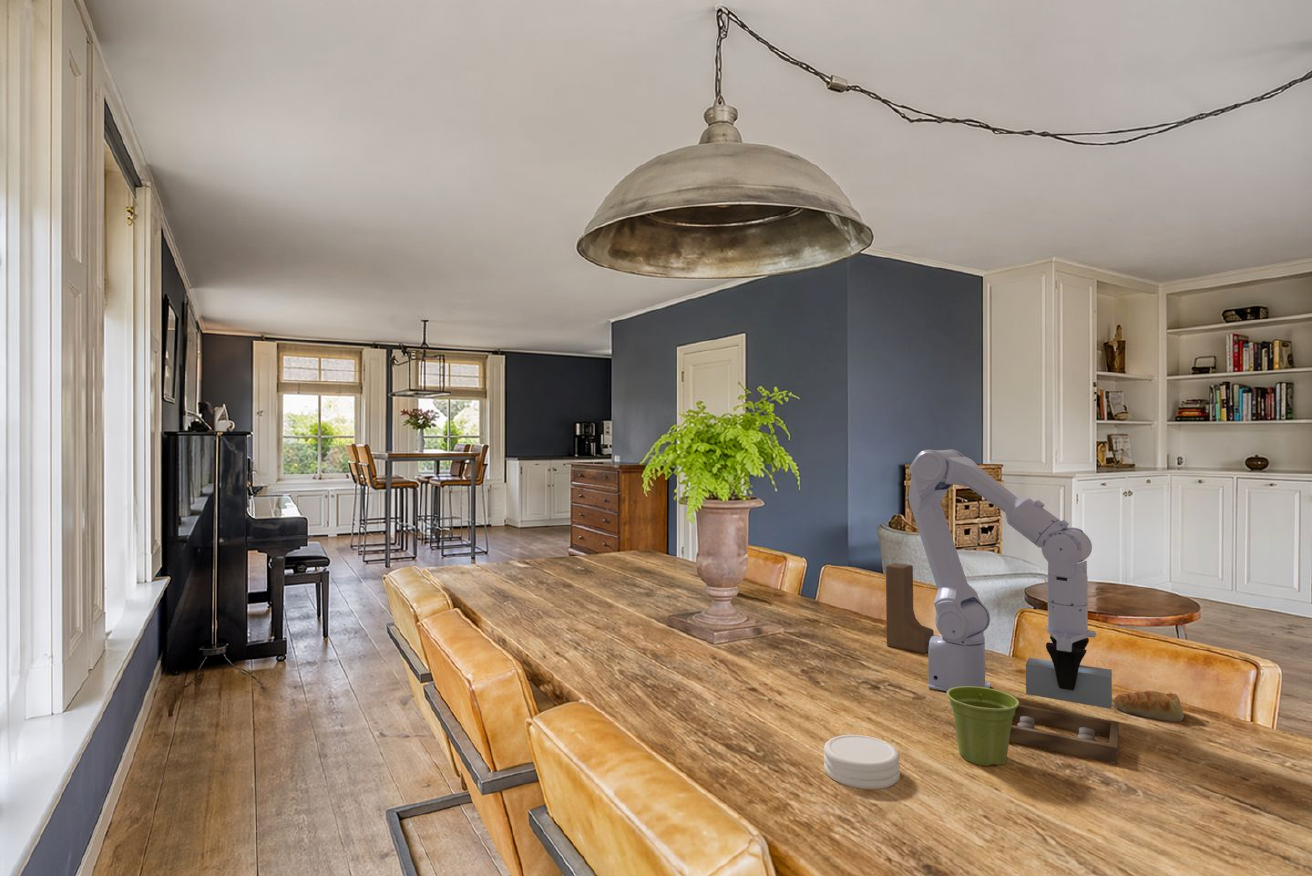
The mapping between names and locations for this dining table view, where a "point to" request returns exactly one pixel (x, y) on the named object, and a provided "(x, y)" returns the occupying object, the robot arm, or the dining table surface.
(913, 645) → the wooden block
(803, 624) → the dining table surface
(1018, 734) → the peg frame
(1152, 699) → the pastry
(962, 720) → the plant pot
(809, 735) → the dining table surface
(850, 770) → the coaster
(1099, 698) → the blue-grey rectangular block
